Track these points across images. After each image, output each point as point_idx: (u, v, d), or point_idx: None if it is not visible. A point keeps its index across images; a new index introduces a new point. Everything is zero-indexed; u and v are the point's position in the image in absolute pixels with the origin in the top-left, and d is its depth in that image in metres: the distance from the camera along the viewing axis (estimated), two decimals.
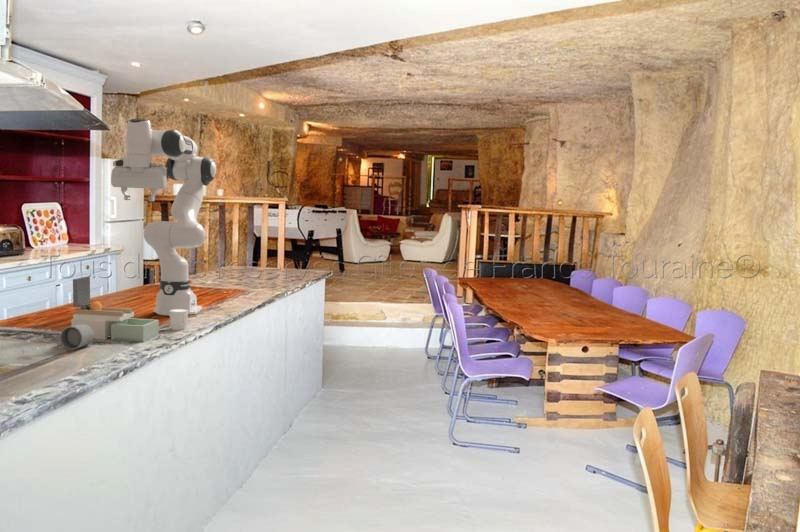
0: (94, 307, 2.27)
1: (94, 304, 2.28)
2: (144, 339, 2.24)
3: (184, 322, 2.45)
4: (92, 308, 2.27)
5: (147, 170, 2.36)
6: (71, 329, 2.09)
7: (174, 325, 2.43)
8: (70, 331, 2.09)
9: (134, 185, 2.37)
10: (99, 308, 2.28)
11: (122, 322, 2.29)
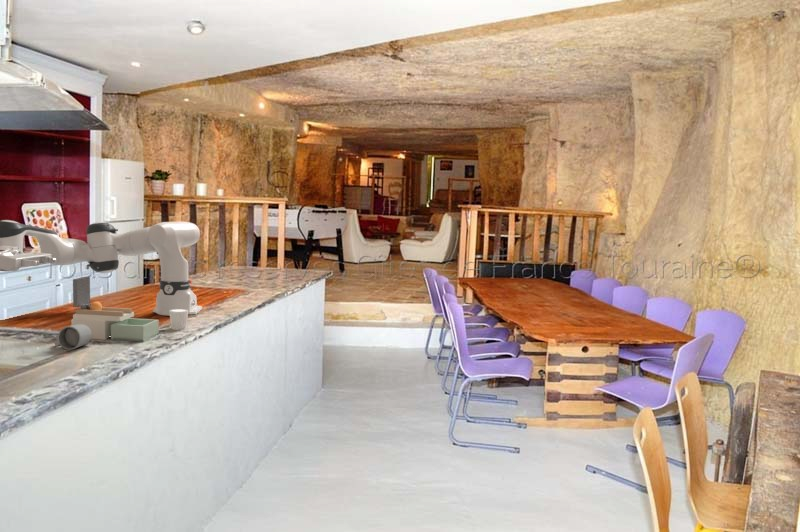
0: (94, 307, 2.27)
1: (94, 304, 2.28)
2: (144, 339, 2.24)
3: (184, 322, 2.45)
4: (92, 308, 2.27)
5: (25, 253, 2.35)
6: (69, 329, 2.10)
7: (174, 325, 2.43)
8: (68, 331, 2.09)
9: (30, 255, 2.30)
10: (99, 308, 2.28)
11: (122, 322, 2.29)
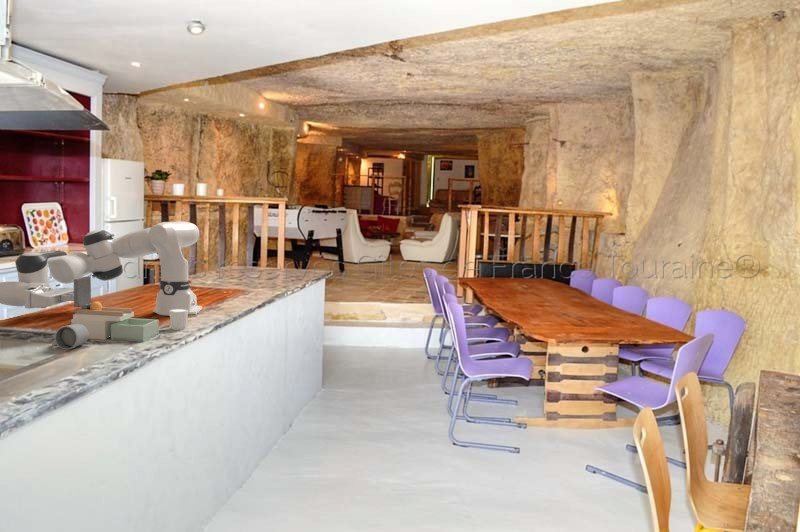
0: (94, 307, 2.27)
1: (94, 304, 2.28)
2: (144, 339, 2.24)
3: (184, 322, 2.45)
4: (92, 308, 2.27)
5: (54, 289, 2.32)
6: (66, 329, 2.10)
7: (174, 325, 2.43)
8: (65, 331, 2.10)
9: (61, 292, 2.27)
10: (99, 308, 2.28)
11: (122, 322, 2.29)
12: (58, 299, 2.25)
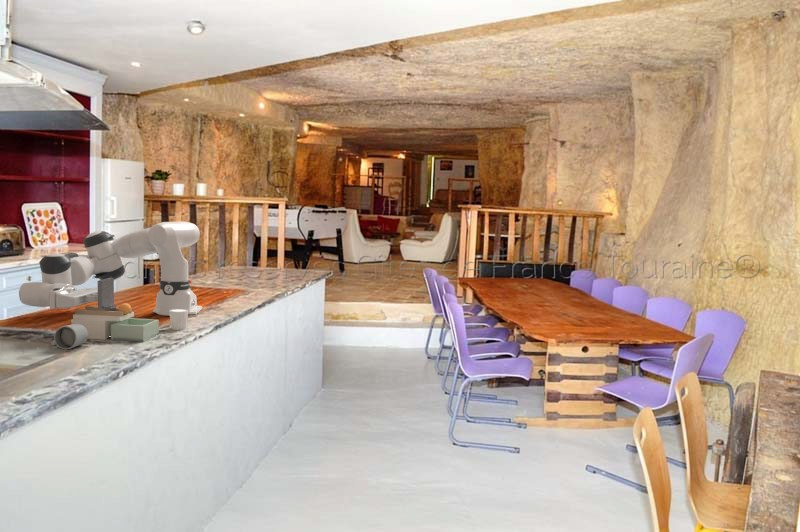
0: (122, 308, 2.26)
1: (120, 306, 2.27)
2: (144, 339, 2.24)
3: (184, 322, 2.45)
4: (122, 310, 2.26)
5: (78, 290, 2.32)
6: (65, 329, 2.10)
7: (174, 325, 2.43)
8: (64, 331, 2.10)
9: (86, 292, 2.27)
10: (127, 305, 2.27)
11: (122, 322, 2.29)
12: (82, 300, 2.25)
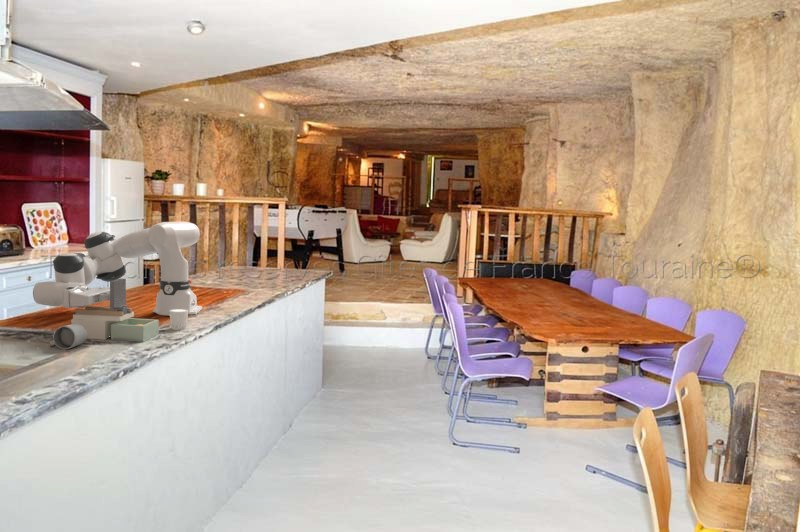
0: None
1: None
2: (144, 339, 2.24)
3: (184, 322, 2.45)
4: None
5: (91, 289, 2.33)
6: (64, 329, 2.10)
7: (174, 325, 2.43)
8: (63, 331, 2.10)
9: (99, 291, 2.27)
10: None
11: (122, 322, 2.29)
12: (96, 298, 2.26)
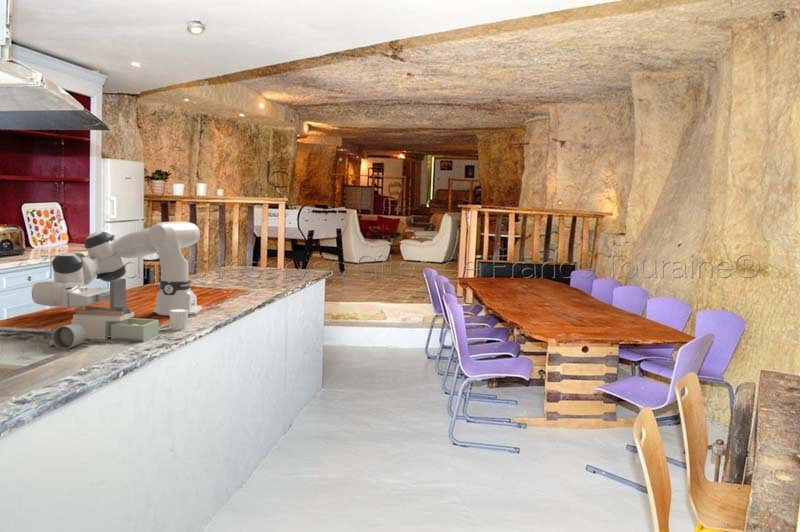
0: None
1: None
2: (144, 339, 2.24)
3: (184, 322, 2.45)
4: None
5: (90, 289, 2.33)
6: (64, 329, 2.10)
7: (174, 325, 2.43)
8: (63, 331, 2.10)
9: (98, 291, 2.27)
10: None
11: (122, 322, 2.29)
12: (95, 299, 2.25)
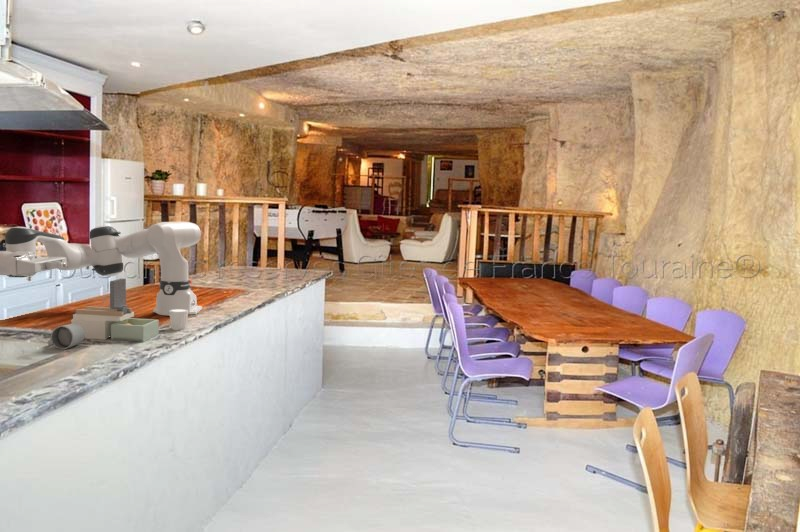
0: None
1: None
2: (144, 339, 2.24)
3: (184, 322, 2.45)
4: None
5: (40, 258, 2.36)
6: (62, 328, 2.10)
7: (174, 325, 2.43)
8: (61, 330, 2.10)
9: (47, 259, 2.31)
10: None
11: (122, 322, 2.29)
12: (44, 266, 2.29)
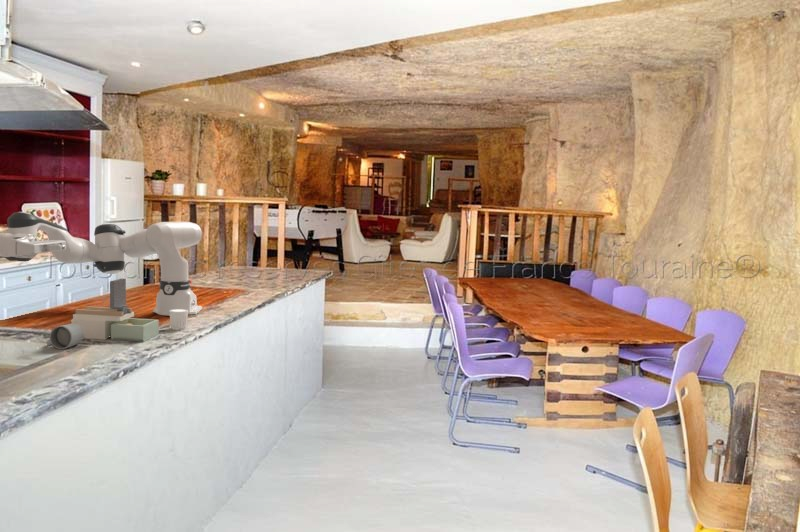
0: None
1: None
2: (144, 339, 2.24)
3: (184, 322, 2.45)
4: None
5: None
6: (61, 328, 2.10)
7: (174, 325, 2.43)
8: (60, 330, 2.10)
9: (47, 242, 2.33)
10: None
11: (122, 322, 2.29)
12: (43, 248, 2.31)
